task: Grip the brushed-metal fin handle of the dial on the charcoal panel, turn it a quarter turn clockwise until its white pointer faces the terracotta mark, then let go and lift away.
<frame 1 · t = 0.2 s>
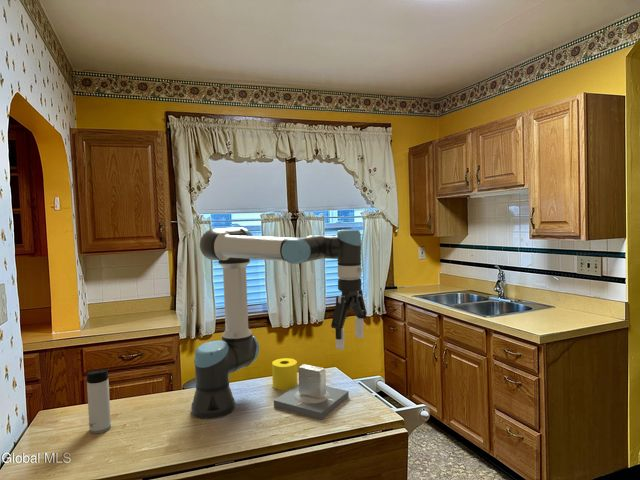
hand: (350, 343, 140), 28 cm above the counter, tool pointing down, fingers open, 13 cm apart
travel mug: (100, 430, 142), on the counter
yellow toilet paper roll: (285, 385, 176), on the counter
dial handle: (312, 381, 159), point 8 cm above the counter, hinge at 0.0°
dial plate: (312, 402, 160), on the counter
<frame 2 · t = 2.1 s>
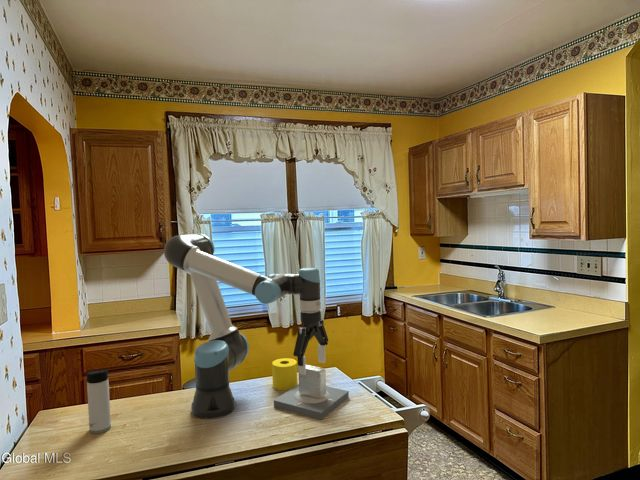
hand: (312, 367, 159), 13 cm above the counter, tool pointing down, fingers open, 13 cm apart
nothing on the counter moved.
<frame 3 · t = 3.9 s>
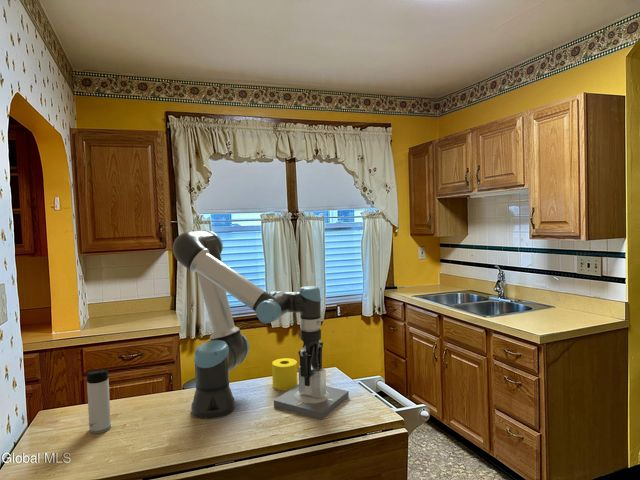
hand: (311, 391, 159), 4 cm above the counter, tool pointing down, fingers closed on dial handle, 4 cm apart
dial handle: (312, 381, 159), point 8 cm above the counter, hinge at 0.0°, touching gripper
everything else where it was.
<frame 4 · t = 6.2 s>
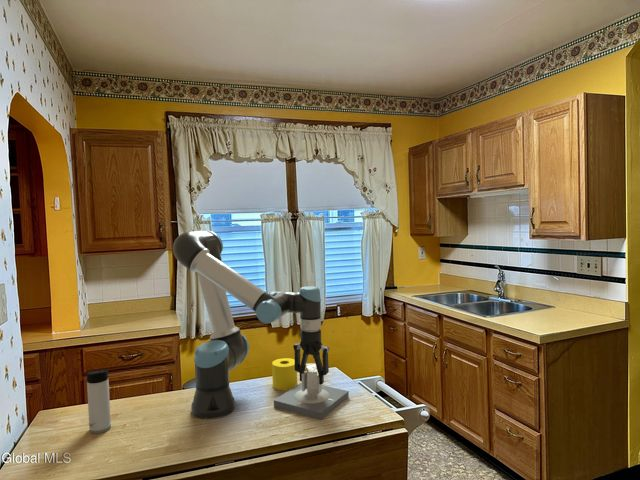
hand: (311, 391, 159), 4 cm above the counter, tool pointing down, fingers closed on dial handle, 5 cm apart
dial handle: (311, 381, 159), point 8 cm above the counter, hinge at -55.2°, touching gripper
everything else where it was.
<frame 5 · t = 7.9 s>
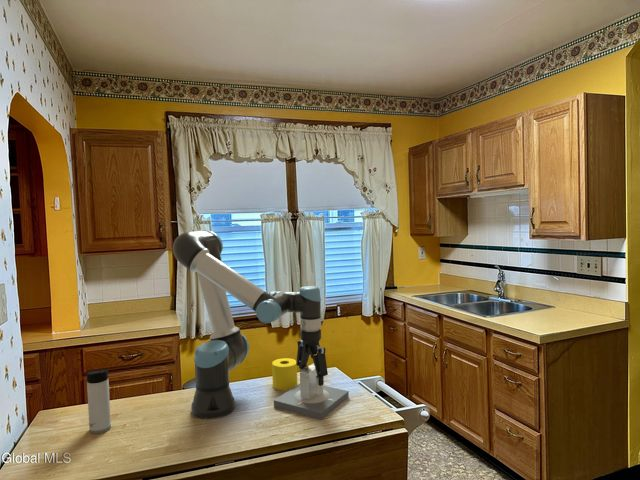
hand: (311, 389, 159), 5 cm above the counter, tool pointing down, fingers open, 8 cm apart
dial handle: (311, 381, 159), point 8 cm above the counter, hinge at -89.7°
everything else where it was.
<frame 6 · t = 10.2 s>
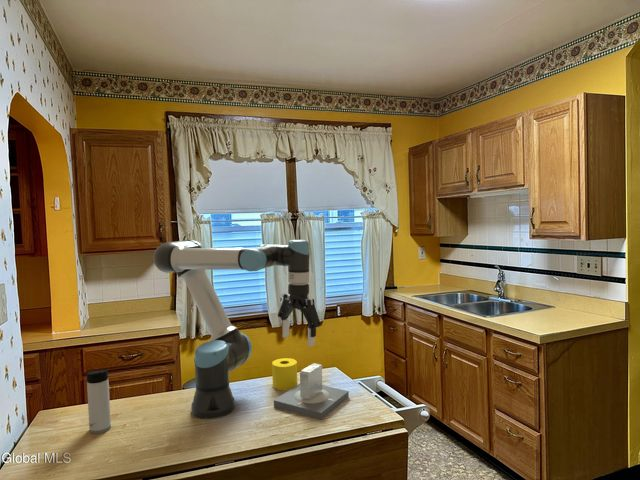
hand: (298, 341, 157), 23 cm above the counter, tool pointing down, fingers open, 13 cm apart
nothing on the counter moved.
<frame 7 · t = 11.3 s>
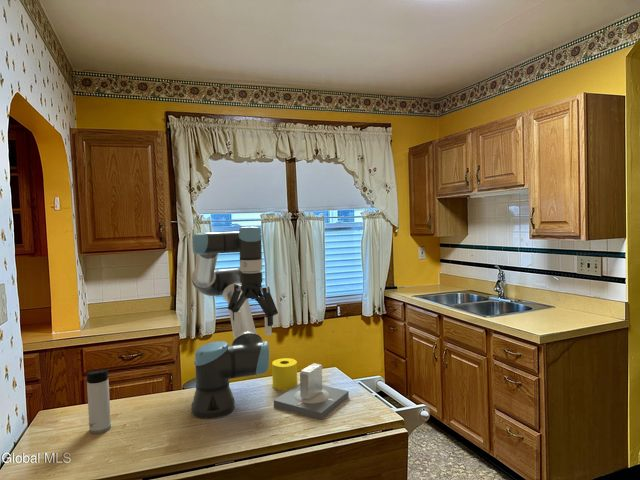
hand: (252, 332, 150), 29 cm above the counter, tool pointing down, fingers open, 13 cm apart
nothing on the counter moved.
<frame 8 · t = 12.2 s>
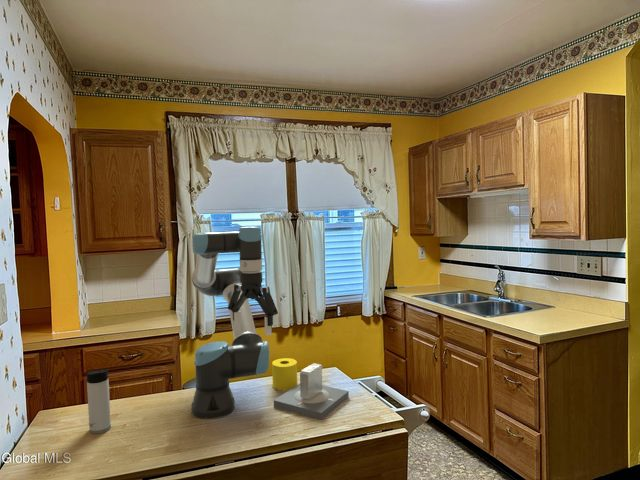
hand: (252, 332, 150), 29 cm above the counter, tool pointing down, fingers open, 13 cm apart
nothing on the counter moved.
at the end: dial handle at -90° (first picture: +0°); the gripper is holding nothing; yellow toilet paper roll moved 0.3 cm from its start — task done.
